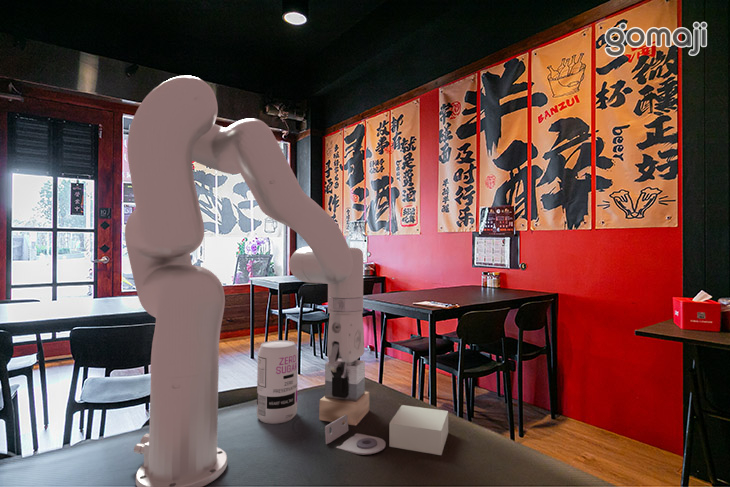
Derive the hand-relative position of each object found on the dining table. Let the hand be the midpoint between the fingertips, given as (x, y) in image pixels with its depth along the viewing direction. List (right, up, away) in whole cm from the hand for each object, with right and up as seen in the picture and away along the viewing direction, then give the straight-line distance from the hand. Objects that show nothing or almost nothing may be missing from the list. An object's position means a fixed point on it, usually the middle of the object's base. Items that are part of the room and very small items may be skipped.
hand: (345, 391), depth 81 cm
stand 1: (0, -5, 0) cm, 5 cm away
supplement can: (-14, -5, -1) cm, 15 cm away
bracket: (+3, -5, -12) cm, 13 cm away
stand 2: (+14, -4, -11) cm, 19 cm away
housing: (0, -1, 0) cm, 1 cm away
